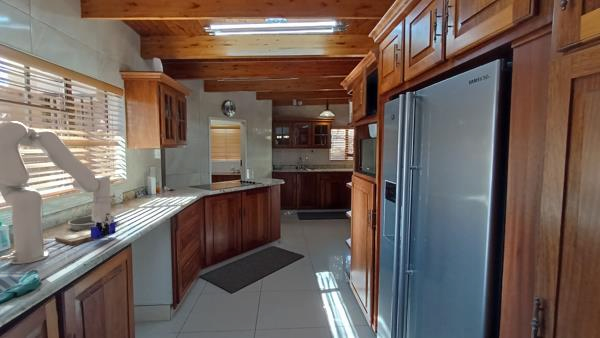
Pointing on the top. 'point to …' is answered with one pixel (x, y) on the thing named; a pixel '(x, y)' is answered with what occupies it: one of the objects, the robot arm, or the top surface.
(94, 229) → the blue curved stepped block
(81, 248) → the top surface
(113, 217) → the cake pan
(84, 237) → the mounting board
